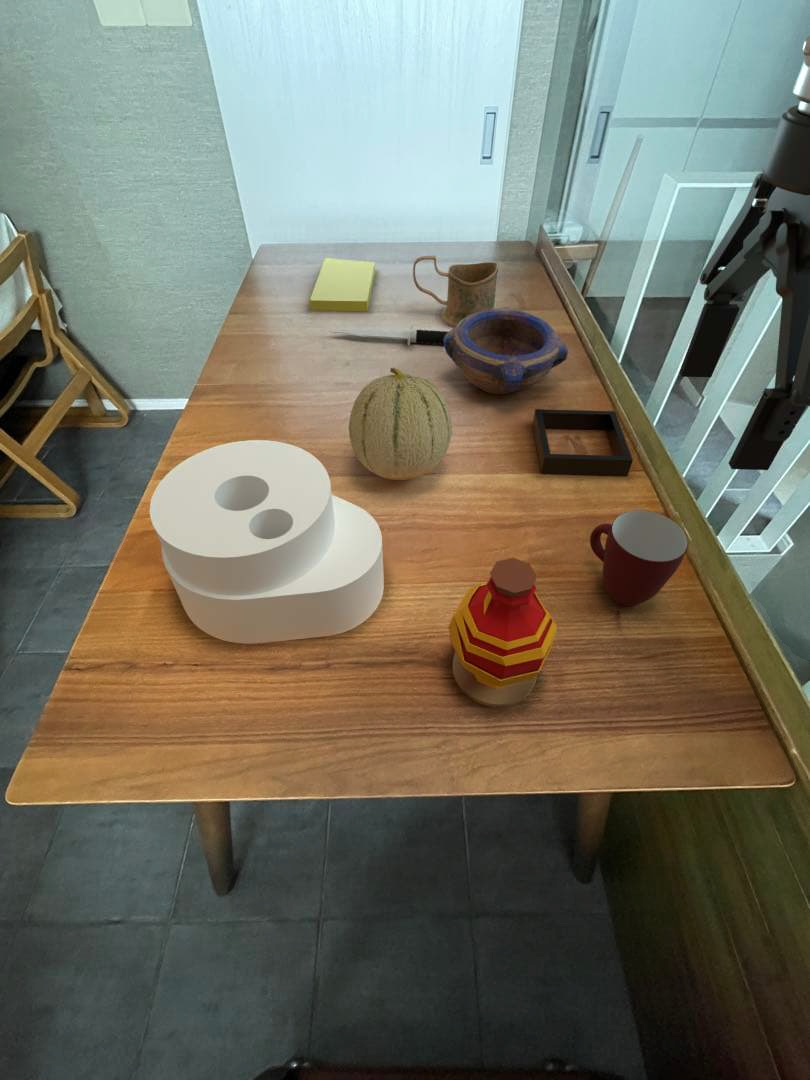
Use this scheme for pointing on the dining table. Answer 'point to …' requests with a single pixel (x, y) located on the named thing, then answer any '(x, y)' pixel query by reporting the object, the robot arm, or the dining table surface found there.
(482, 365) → the bowl
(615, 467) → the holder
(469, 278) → the mug
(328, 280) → the yellow flat block
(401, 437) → the cantaloupe
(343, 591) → the white stepped block
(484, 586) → the potion bottle
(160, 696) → the dining table surface
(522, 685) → the coaster
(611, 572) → the mug
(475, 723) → the dining table surface
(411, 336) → the knife
